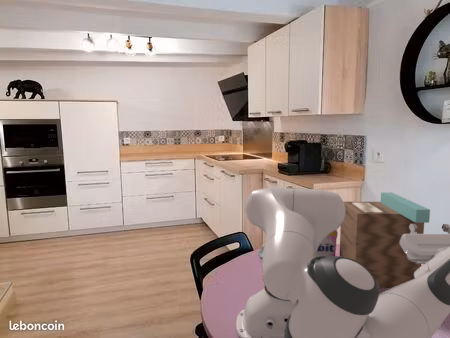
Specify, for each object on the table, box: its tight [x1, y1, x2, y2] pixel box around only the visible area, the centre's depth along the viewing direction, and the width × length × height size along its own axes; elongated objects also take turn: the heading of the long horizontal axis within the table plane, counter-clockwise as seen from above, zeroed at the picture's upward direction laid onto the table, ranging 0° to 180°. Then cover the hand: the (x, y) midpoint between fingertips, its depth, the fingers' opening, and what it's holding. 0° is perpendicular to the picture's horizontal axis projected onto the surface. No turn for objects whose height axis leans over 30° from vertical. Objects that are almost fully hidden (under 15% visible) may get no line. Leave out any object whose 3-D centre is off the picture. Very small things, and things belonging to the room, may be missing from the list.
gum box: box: [316, 229, 339, 261], centre depth 143 cm, size 24×8×14 cm, turn 82°
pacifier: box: [257, 243, 265, 259], centre depth 143 cm, size 7×6×6 cm
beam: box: [380, 192, 431, 224], centre depth 116 cm, size 4×26×4 cm, turn 177°
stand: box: [339, 201, 425, 289], centre depth 124 cm, size 22×18×26 cm
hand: (428, 225), depth 102 cm, fingers open, 8 cm apart
